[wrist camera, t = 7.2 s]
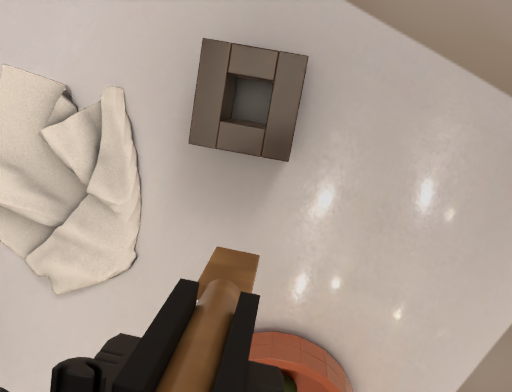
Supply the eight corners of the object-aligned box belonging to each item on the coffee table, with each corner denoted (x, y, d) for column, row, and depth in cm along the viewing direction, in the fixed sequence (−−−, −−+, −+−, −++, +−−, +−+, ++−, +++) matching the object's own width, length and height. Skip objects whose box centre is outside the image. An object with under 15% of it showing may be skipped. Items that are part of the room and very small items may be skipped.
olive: (299, 371, 43) (300, 390, 41) (294, 397, 44) (294, 417, 41) (270, 364, 44) (268, 383, 41) (264, 391, 44) (262, 411, 41)
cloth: (68, 318, 45) (55, 330, 43) (-85, 155, 43) (-107, 158, 41) (215, 197, 41) (210, 202, 39) (56, 10, 39) (41, 4, 37)
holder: (306, 63, 38) (308, 55, 32) (289, 153, 40) (288, 162, 34) (216, 47, 39) (202, 37, 33) (203, 137, 40) (188, 143, 34)
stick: (261, 247, 24) (208, 479, 9) (255, 276, 24) (195, 545, 9) (218, 238, 24) (95, 453, 9) (212, 267, 24) (87, 518, 9)
